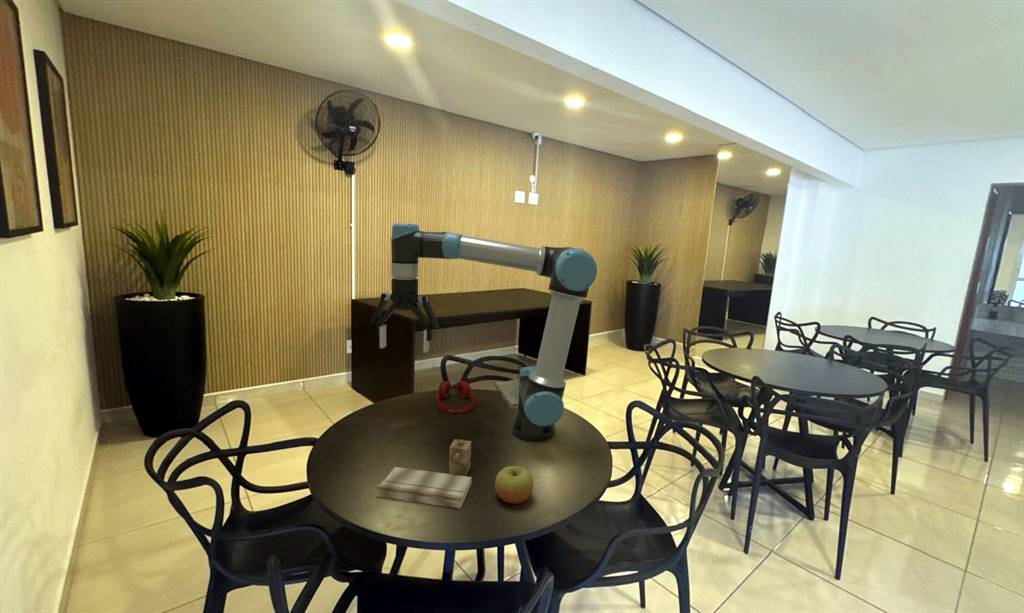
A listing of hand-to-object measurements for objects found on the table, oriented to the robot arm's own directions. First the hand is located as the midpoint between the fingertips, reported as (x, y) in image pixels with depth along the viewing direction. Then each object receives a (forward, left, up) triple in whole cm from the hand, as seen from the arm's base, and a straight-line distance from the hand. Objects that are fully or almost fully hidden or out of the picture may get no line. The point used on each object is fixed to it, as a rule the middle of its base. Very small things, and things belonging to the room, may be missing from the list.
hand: (404, 349), depth 128 cm
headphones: (-5, -40, -33) cm, 52 cm away
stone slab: (-27, -53, -33) cm, 68 cm away
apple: (-37, +16, -32) cm, 52 cm away
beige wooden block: (-20, +8, -32) cm, 39 cm away
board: (-14, +18, -32) cm, 39 cm away
